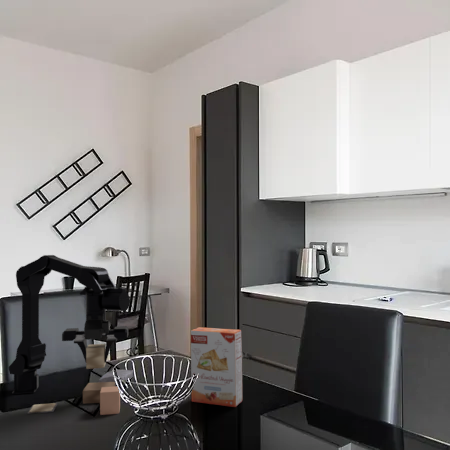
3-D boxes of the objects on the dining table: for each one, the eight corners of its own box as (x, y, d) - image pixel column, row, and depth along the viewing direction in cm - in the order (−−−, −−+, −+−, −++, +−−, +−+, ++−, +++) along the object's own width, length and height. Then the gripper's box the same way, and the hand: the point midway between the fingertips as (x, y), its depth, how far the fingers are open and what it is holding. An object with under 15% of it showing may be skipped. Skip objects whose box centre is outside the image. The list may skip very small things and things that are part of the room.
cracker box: (190, 402, 139) (189, 329, 140) (199, 396, 144) (198, 326, 145) (235, 408, 133) (234, 332, 134) (243, 401, 139) (241, 328, 140)
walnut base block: (82, 404, 140) (82, 390, 140) (88, 395, 148) (88, 382, 148) (110, 403, 140) (110, 389, 140) (115, 394, 148) (114, 381, 148)
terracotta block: (100, 415, 130) (100, 392, 130) (101, 408, 135) (101, 387, 135) (119, 413, 131) (118, 391, 131) (120, 407, 136) (119, 386, 136)
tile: (27, 413, 132) (27, 412, 132) (32, 405, 138) (32, 404, 138) (53, 411, 133) (53, 410, 133) (57, 404, 139) (57, 402, 139)
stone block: (97, 395, 154) (128, 388, 154) (94, 380, 154) (125, 373, 154) (107, 385, 166) (135, 379, 166) (104, 371, 166) (133, 365, 166)
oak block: (86, 368, 140) (86, 348, 140) (88, 364, 145) (88, 344, 145) (103, 367, 141) (103, 347, 141) (105, 363, 146) (105, 343, 146)
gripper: (58, 314, 134) (58, 371, 134) (126, 312, 137) (126, 367, 137) (65, 309, 145) (65, 361, 145) (128, 307, 148) (128, 358, 148)
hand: (96, 362), depth 143 cm, fingers closed on oak block, 5 cm apart
